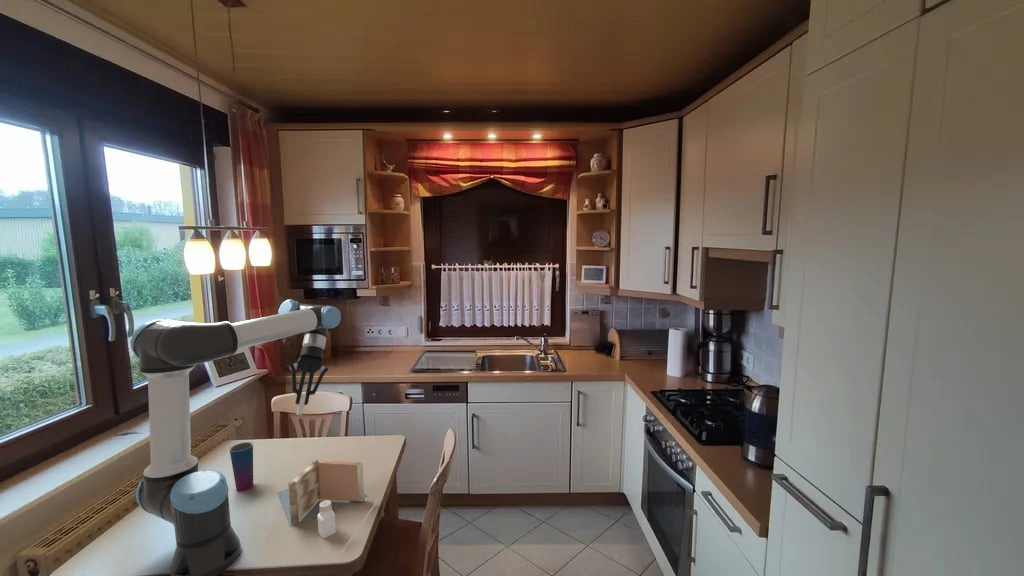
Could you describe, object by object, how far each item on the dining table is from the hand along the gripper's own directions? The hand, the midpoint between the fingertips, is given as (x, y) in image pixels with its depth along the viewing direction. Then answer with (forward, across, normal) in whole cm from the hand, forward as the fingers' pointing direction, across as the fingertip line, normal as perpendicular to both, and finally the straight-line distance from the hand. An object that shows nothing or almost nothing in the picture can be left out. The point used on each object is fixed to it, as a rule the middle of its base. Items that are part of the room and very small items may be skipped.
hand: (299, 414), depth 139 cm
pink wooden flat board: (+26, -18, 0) cm, 32 cm away
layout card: (+25, -12, -7) cm, 28 cm away
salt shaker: (+35, -14, +11) cm, 39 cm away
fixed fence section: (+29, -8, -1) cm, 30 cm away
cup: (+21, +11, -25) cm, 35 cm away
